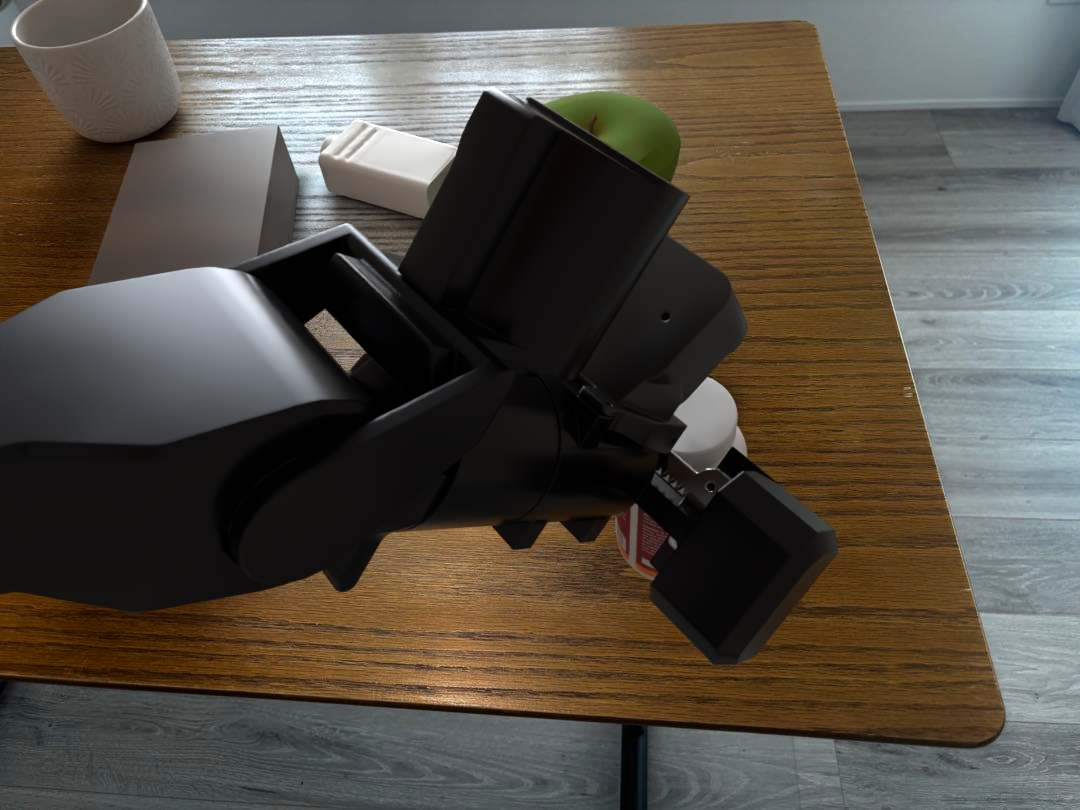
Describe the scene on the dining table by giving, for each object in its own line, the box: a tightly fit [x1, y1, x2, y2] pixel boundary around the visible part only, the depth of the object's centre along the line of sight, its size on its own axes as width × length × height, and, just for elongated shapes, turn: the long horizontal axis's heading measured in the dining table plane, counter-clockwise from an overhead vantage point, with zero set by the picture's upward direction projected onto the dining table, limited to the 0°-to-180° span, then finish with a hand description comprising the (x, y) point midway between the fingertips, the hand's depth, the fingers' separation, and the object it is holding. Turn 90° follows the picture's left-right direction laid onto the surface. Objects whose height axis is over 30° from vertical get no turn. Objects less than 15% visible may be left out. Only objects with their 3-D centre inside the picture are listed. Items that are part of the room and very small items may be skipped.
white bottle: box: [317, 119, 458, 220], centre depth 73 cm, size 6×13×4 cm, turn 62°
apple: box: [544, 90, 682, 183], centre depth 64 cm, size 12×12×11 cm
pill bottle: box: [614, 376, 748, 581], centre depth 41 cm, size 6×6×11 cm
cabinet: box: [86, 124, 300, 287], centre depth 69 cm, size 18×12×6 cm
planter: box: [9, 0, 182, 144], centre depth 81 cm, size 12×12×11 cm
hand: (699, 452), depth 41 cm, fingers closed on pill bottle, 6 cm apart
